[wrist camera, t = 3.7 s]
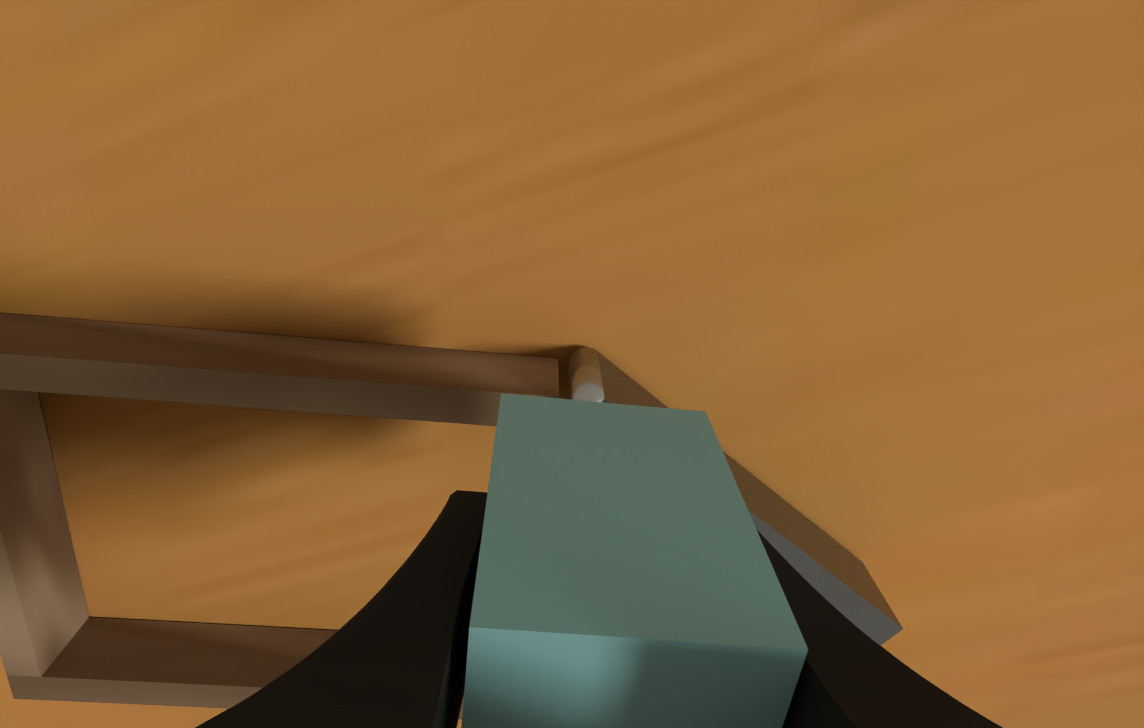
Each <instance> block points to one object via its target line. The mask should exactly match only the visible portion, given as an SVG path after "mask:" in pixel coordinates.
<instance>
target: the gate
mask: <svg viewBox="0 0 1144 728" xmlns="http://www.w3.org/2000/svg"><path fill="white" fill-rule="evenodd" d="M568 365H569V381H570V397H571V400H581V401H592V402H604V403H615V404H626V405H637V406H648V407H659V408H668V407H667V406H665V405H664V404H663V403H662V402H660V401H659V400H658V399H657V398H655V397H654V396H653V395H652V394H650V393H649V392H648V391H647V390H645V389H644V388H643V387H642V386H640V385H639V384H638V383H636V382H635V381H634V380H633V379H631V378H630V377H629V376H628V375H626V374H625V373H624V372H623V371H621V370H620V369H619V368H618V367H616V366H615V365H614V364H613V363H611V362H610V361H609V360H608V359H606V358H605V357H604V356H602V355H601V354H600V353H599V352H597V351H596V350H594V349H592V348H587V347H586V348H580V349H578V350H576V351H574V352H573V353H572V355H571V356H570V358H569V362H568ZM723 453H724V456H725V458H726V460H727V463H728V465H729V467H730V469H731V472H732V474H733V476H734V479H735V481H736V483H737V486H738V488H739V490H740V493H741V495H742V497H743V500H744V502H745V504H746V506H747V509H748V511H749V513H750V516H751V518H752V520H753V523H754V525H755V527H756V529H757V530H758V531H759V532H760V533H761V534H762V535H763V536H764V538H765V539H766V540H767V541H768V542H769V543H770V544H771V545H772V546H773V547H774V548H775V549H776V550H777V551H778V552H779V553H780V554H781V555H782V556H783V557H784V558H785V559H786V560H787V562H788V563H789V564H790V565H791V566H792V567H793V568H794V569H795V570H796V571H797V572H798V573H799V574H800V575H801V576H802V577H803V578H804V579H805V580H806V581H807V582H808V583H809V584H810V585H811V586H813V587H814V588H815V589H816V590H817V591H818V592H819V593H820V594H821V595H822V596H823V597H824V598H825V599H826V600H827V601H828V602H829V603H831V604H832V605H833V606H834V607H835V608H836V609H837V610H838V611H840V612H841V613H842V614H843V615H844V616H845V617H846V618H847V619H848V620H850V621H851V622H852V623H853V624H854V625H855V626H856V627H858V628H859V629H860V630H861V631H862V632H864V633H865V634H866V635H867V636H869V637H870V638H871V639H872V640H874V641H875V642H876V643H877V644H879V645H880V646H881V645H882V644H883V643H885V642H886V641H887V640H889V639H890V638H891V637H893V636H894V635H895V634H897V633H898V632H899V631H901V630H902V629H903V628H902V626H901V625H900V623H899V621H898V620H897V618H896V616H895V615H894V613H893V611H892V610H891V608H890V607H889V605H888V603H887V602H886V600H885V598H884V597H883V595H882V593H881V592H880V590H879V588H878V587H877V585H876V583H875V582H874V580H873V579H872V577H871V575H870V574H869V572H868V570H867V569H866V567H865V565H864V564H863V562H862V561H861V560H859V559H858V558H857V557H855V556H854V555H853V554H852V553H850V552H849V551H848V550H847V549H845V548H844V547H843V546H842V545H840V544H839V543H838V542H837V541H835V540H834V539H833V538H832V537H830V536H829V535H828V534H827V533H825V532H824V531H823V530H822V529H820V528H819V527H818V526H816V525H815V524H814V523H813V522H811V521H810V520H809V519H808V518H806V517H805V516H804V515H803V514H801V513H800V512H799V511H798V510H796V509H795V508H794V507H793V506H791V505H790V504H789V503H788V502H786V501H785V500H784V499H782V498H781V497H780V496H779V495H777V494H776V493H775V492H774V491H772V490H771V489H770V488H769V487H767V486H766V485H765V484H764V483H762V482H761V481H760V480H759V479H757V478H756V477H755V476H754V475H752V474H751V473H750V472H748V471H747V470H746V469H745V468H743V467H742V466H741V465H740V464H738V463H737V462H736V461H735V460H733V459H732V458H731V457H730V456H728V455H727V454H726V453H725V452H723Z"/></svg>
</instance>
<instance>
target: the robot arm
mask: <svg viewBox="0 0 1144 728" xmlns="http://www.w3.org/2000/svg"><path fill="white" fill-rule="evenodd" d="M487 494H488V493H486V492H473V491H460V490H457V491H455V492H454V493H453V494H451V495H450V497H449V499H448V501H447V503H446V505H445V507H444V509H443V510H442V512H441V514H440V515H439V517H438V518H437V520H436V521H435V523H434V524H433V526H432V527H431V529H430V530H429V531H428V533H427V534H426V536H425V537H424V538H423V540H422V541H421V542H420V543H419V545H418V546H417V547H416V549H415V550H414V551H413V553H412V554H411V555H410V557H409V558H408V559H407V560H406V561H405V563H404V564H403V565H402V566H401V567H400V568H399V570H398V571H397V572H396V573H395V574H394V575H393V576H392V578H391V579H390V580H389V581H388V582H387V583H386V584H385V585H384V587H383V588H382V589H381V590H380V591H379V592H378V593H377V594H376V595H375V596H374V597H373V598H372V599H371V600H370V601H369V602H368V603H367V604H366V605H365V606H364V607H363V608H362V609H361V610H360V611H359V612H358V613H357V614H356V615H355V616H354V617H353V618H352V619H350V620H349V621H348V622H347V623H346V624H345V625H344V626H343V627H342V628H341V629H339V630H338V631H337V632H336V633H335V634H333V635H332V636H331V637H330V638H329V639H327V640H326V641H325V642H324V643H323V644H321V645H320V646H319V647H318V648H317V649H316V650H314V651H313V652H312V653H310V654H309V655H308V656H307V657H305V658H304V659H303V660H301V661H300V662H299V663H297V664H296V665H295V666H293V667H292V668H290V669H289V670H287V671H286V672H285V673H283V674H282V675H280V676H279V677H277V678H276V679H274V680H273V681H272V682H270V683H269V684H267V685H266V686H264V687H263V688H261V689H260V690H259V691H257V692H256V693H254V694H253V695H251V696H249V697H248V698H246V699H245V700H243V701H241V702H240V703H238V704H236V705H235V706H233V707H231V708H229V709H227V710H226V711H224V712H222V713H220V714H219V715H217V716H215V717H213V718H212V719H210V720H208V721H206V722H204V723H203V724H201V725H199V726H197V727H196V728H456V727H457V723H458V718H459V714H460V709H461V705H462V700H463V696H464V690H465V677H466V664H467V651H468V638H469V626H470V618H471V611H472V604H473V596H474V589H475V582H476V574H477V567H478V560H479V552H480V545H481V538H482V530H483V523H484V516H485V508H486V501H487ZM756 530H757V529H756ZM757 532H758V534H759V537H760V539H761V541H762V544H763V546H764V548H765V550H766V553H767V555H768V557H769V560H770V562H771V564H772V567H773V569H774V571H775V574H776V576H777V578H778V581H779V583H780V585H781V587H782V590H783V592H784V594H785V597H786V599H787V601H788V604H789V606H790V608H791V611H792V613H793V615H794V618H795V620H796V622H797V625H798V627H799V629H800V631H801V634H802V636H803V638H804V641H805V643H806V645H807V648H808V652H807V655H806V658H805V661H804V664H803V667H802V670H801V673H800V676H799V679H798V682H797V685H796V687H795V690H794V693H793V696H792V699H791V702H790V705H789V708H788V711H787V714H786V717H785V720H784V723H783V726H782V728H1002V727H1001V726H999V725H997V724H995V723H994V722H992V721H990V720H988V719H987V718H985V717H983V716H982V715H980V714H979V713H977V712H975V711H974V710H972V709H970V708H969V707H967V706H965V705H964V704H962V703H961V702H959V701H957V700H956V699H954V698H953V697H951V696H950V695H948V694H947V693H945V692H944V691H942V690H941V689H939V688H938V687H936V686H935V685H933V684H932V683H930V682H929V681H927V680H926V679H924V678H923V677H922V676H920V675H919V674H917V673H916V672H915V671H913V670H912V669H910V668H909V667H908V666H906V665H905V664H903V663H902V662H901V661H899V660H898V659H897V658H896V657H894V656H893V655H892V654H890V653H889V652H888V651H886V650H885V649H884V648H883V647H881V646H880V645H879V644H877V643H876V642H875V641H874V640H872V639H871V638H870V637H869V636H867V635H866V634H865V633H864V632H862V631H861V630H860V629H859V628H858V627H856V626H855V625H854V624H853V623H852V622H851V621H850V620H848V619H847V618H846V617H845V616H844V615H843V614H842V613H841V612H840V611H838V610H837V609H836V608H835V607H834V606H833V605H832V604H831V603H829V602H828V601H827V600H826V599H825V598H824V597H823V596H822V595H821V594H820V593H819V592H818V591H817V590H816V589H815V588H814V587H813V586H811V585H810V584H809V583H808V582H807V581H806V580H805V579H804V578H803V577H802V576H801V575H800V574H799V573H798V572H797V571H796V570H795V569H794V568H793V567H792V566H791V565H790V564H789V563H788V562H787V560H786V559H785V558H784V557H783V556H782V555H781V554H780V553H779V552H778V551H777V550H776V549H775V548H774V547H773V546H772V545H771V544H770V543H769V542H768V541H767V540H766V539H765V538H764V536H763V535H762V534H761V533H760V532H759V531H758V530H757Z"/></svg>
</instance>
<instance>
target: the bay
mask: <svg viewBox="0 0 1144 728" xmlns="http://www.w3.org/2000/svg"><path fill="white" fill-rule="evenodd" d="M38 392H45V393H59V394H72V395H85V396H99V397H112V398H126V399H139V400H153V401H166V402H179V403H193V404H206V405H220V406H233V407H247V408H260V409H273V410H287V411H300V412H314V413H327V414H341V415H354V416H367V417H381V418H394V419H408V420H421V421H435V422H448V423H461V424H475V425H488V426H497V420H498V413H499V406H500V398H501V393H504V394H515V395H526V396H537V397H548V398H559V370H558V358H548V357H536V356H523V355H511V354H499V353H487V352H474V351H462V350H450V349H438V348H425V347H413V346H401V345H389V344H376V343H364V342H352V341H340V340H327V339H315V338H303V337H291V336H278V335H266V334H254V333H242V332H229V331H217V330H205V329H193V328H180V327H168V326H156V325H144V324H131V323H119V322H107V321H95V320H82V319H70V318H58V317H46V316H33V315H21V314H9V313H0V654H1V657H2V661H3V664H4V667H5V671H6V674H7V677H8V681H9V684H10V687H11V691H12V694H13V697H14V699H33V700H55V701H77V702H99V703H121V704H142V705H164V706H186V707H208V708H231V707H233V706H235V705H236V704H238V703H240V702H241V701H243V700H245V699H246V698H248V697H249V696H251V695H253V694H254V693H256V692H257V691H259V690H260V689H261V688H263V687H264V686H266V685H267V684H269V683H270V682H272V681H273V680H274V679H276V678H277V677H279V676H280V675H282V674H283V673H285V672H286V671H287V670H289V669H290V668H292V667H293V666H295V665H296V664H297V663H299V662H300V661H301V660H303V659H304V658H305V657H307V656H308V655H309V654H310V653H312V652H313V651H314V650H316V649H317V648H318V647H319V646H320V645H321V644H323V643H324V642H325V641H326V640H327V639H329V638H330V637H331V636H332V635H333V634H335V633H336V632H337V631H336V630H318V629H299V628H281V627H262V626H243V625H225V624H206V623H187V622H169V621H150V620H131V619H113V618H94V617H89V615H88V611H87V607H86V602H85V598H84V593H83V589H82V585H81V580H80V576H79V571H78V567H77V563H76V558H75V554H74V550H73V545H72V541H71V536H70V532H69V528H68V523H67V519H66V515H65V510H64V506H63V501H62V497H61V493H60V488H59V484H58V479H57V475H56V471H55V466H54V462H53V458H52V453H51V449H50V444H49V440H48V436H47V431H46V427H45V423H44V418H43V414H42V409H41V405H40V401H39V396H38ZM463 703H464V696H463V700H462V705H461V709H460V714H459V718H458V719H462V716H463Z"/></svg>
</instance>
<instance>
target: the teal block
mask: <svg viewBox="0 0 1144 728" xmlns="http://www.w3.org/2000/svg"><path fill="white" fill-rule="evenodd" d="M807 652H808V648H807V645H806V643H805V641H804V638H803V636H802V634H801V631H800V629H799V627H798V625H797V622H796V620H795V618H794V615H793V613H792V611H791V608H790V606H789V604H788V601H787V599H786V597H785V594H784V592H783V590H782V587H781V585H780V583H779V581H778V578H777V576H776V574H775V571H774V569H773V567H772V564H771V562H770V560H769V557H768V555H767V553H766V550H765V548H764V546H763V544H762V541H761V539H760V537H759V534H758V532H757V530H756V527H755V525H754V523H753V520H752V518H751V516H750V513H749V511H748V509H747V506H746V504H745V502H744V500H743V497H742V495H741V493H740V490H739V488H738V486H737V483H736V481H735V479H734V476H733V474H732V472H731V469H730V467H729V465H728V463H727V460H726V458H725V456H724V453H723V451H722V449H721V446H720V444H719V442H718V439H717V437H716V435H715V432H714V430H713V428H712V425H711V423H710V421H709V419H708V416H707V414H706V412H703V411H692V410H681V409H670V408H659V407H648V406H637V405H626V404H615V403H604V402H592V401H581V400H570V399H559V398H548V397H537V396H526V395H515V394H504V393H501V398H500V406H499V413H498V420H497V428H496V435H495V442H494V450H493V457H492V464H491V472H490V479H489V486H488V494H487V501H486V508H485V516H484V523H483V530H482V538H481V545H480V552H479V560H478V567H477V574H476V582H475V589H474V596H473V604H472V611H471V618H470V626H469V638H468V651H467V664H466V677H465V690H464V703H463V716H462V728H782V726H783V723H784V720H785V717H786V714H787V711H788V708H789V705H790V702H791V699H792V696H793V693H794V690H795V687H796V685H797V682H798V679H799V676H800V673H801V670H802V667H803V664H804V661H805V658H806V655H807Z"/></svg>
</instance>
